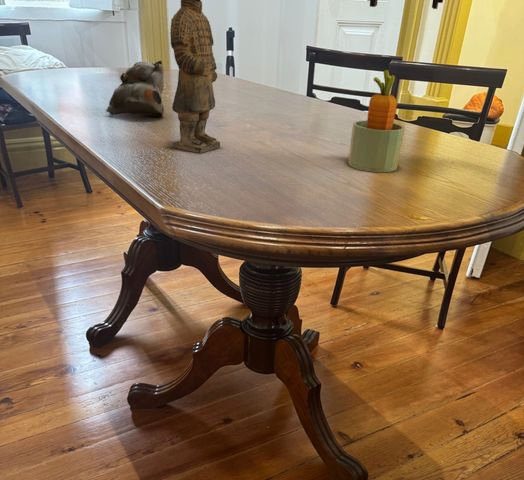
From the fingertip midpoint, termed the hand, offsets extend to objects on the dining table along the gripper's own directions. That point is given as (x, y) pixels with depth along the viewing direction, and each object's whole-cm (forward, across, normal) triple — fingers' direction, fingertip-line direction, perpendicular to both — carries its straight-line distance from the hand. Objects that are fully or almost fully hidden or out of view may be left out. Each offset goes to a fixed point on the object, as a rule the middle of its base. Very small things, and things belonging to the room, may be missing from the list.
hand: (403, 7), depth 82 cm
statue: (+24, -35, -4) cm, 43 cm away
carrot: (+24, -1, 0) cm, 24 cm away
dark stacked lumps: (+24, -61, +18) cm, 68 cm away
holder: (+25, -1, 0) cm, 25 cm away
